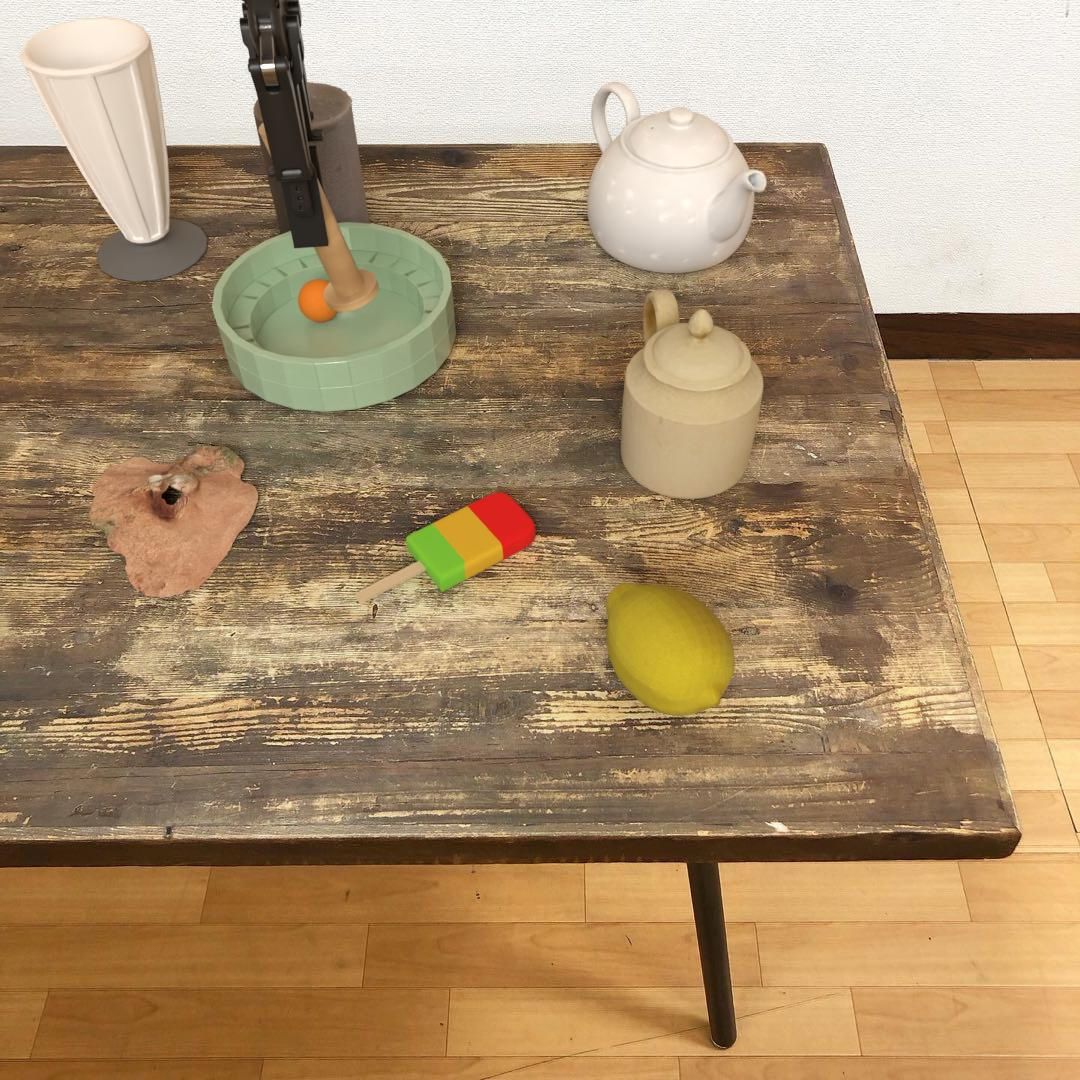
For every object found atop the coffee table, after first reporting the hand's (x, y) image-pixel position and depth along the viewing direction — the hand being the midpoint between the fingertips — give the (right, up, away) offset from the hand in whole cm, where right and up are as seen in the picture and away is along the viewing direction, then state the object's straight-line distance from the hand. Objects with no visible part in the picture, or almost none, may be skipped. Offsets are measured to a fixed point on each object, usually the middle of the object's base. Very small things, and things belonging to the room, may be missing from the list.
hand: (311, 233), depth 87 cm
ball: (-2, -2, +15) cm, 15 cm away
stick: (+3, -4, +5) cm, 7 cm away
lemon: (+27, -35, -11) cm, 46 cm away
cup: (-22, +5, +25) cm, 34 cm away
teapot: (+32, +7, +26) cm, 42 cm away
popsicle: (+11, -27, -4) cm, 29 cm away
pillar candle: (-4, +9, +28) cm, 30 cm away
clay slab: (-11, -23, 0) cm, 25 cm away
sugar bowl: (+30, -17, +5) cm, 35 cm away
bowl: (0, -6, +15) cm, 16 cm away
